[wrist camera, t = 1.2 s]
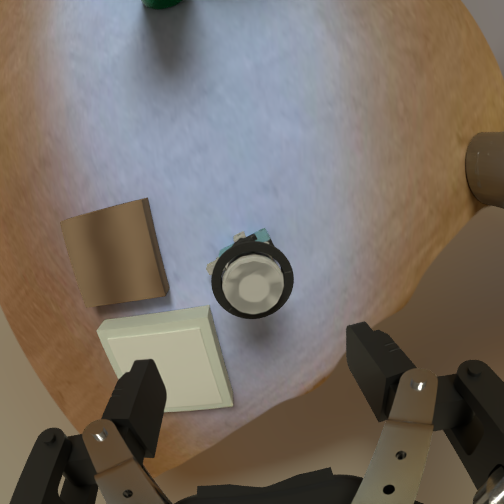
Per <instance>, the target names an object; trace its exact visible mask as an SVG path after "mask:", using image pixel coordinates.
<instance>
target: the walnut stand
mask: <svg viewBox="0 0 504 504" xmlns="http://www.w3.org/2000/svg"><path fill="white" fill-rule="evenodd" d="M60 224H61V228H62V232H63V236H64V240H65V244H66V248H67V251H68V255H69V258H70V261H71V265H72V268H73V271H74V274H75V277H76V281H77V284H78V287H79V289H80V292H81V295H82V298H83V301H84V304H85V306H86V308H88V307H95V306H102V305H109V304H116V303H123V302H130V301H137V300H143V299H150V298H156V297H163V296H166V294H167V292H168V290H169V284H168V281H167V277H166V273H165V269H164V265H163V262H162V258H161V254H160V250H159V246H158V241H157V237H156V233H155V229H154V224H153V220H152V215H151V211H150V206H149V201H148V198H144V199H140V200H136V201H131V202H127V203H123V204H120V205H116V206H112V207H108V208H104V209H101V210H97V211H93V212H90V213H86V214H83V215H79V216H76V217H72V218H69V219H66V220H64V221H61V222H60Z"/></svg>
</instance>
